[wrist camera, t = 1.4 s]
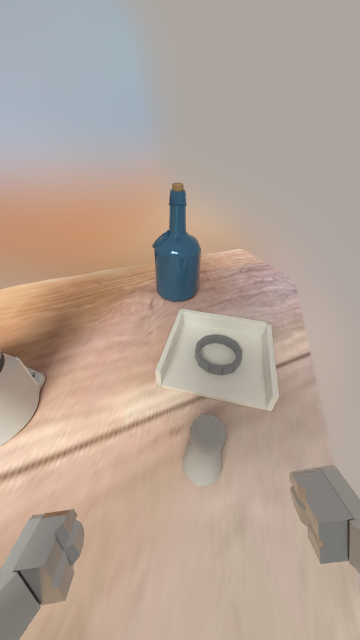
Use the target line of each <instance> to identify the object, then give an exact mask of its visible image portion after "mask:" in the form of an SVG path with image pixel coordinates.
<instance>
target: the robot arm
mask: <svg viewBox="0 0 360 640" xmlns="http://www.w3.org/2000/svg"><path fill="white" fill-rule="evenodd" d="M33 377H34V378H33ZM44 381H45V376H44V375H43V374H42V373H40V372H37V371H35V370H33V369H30V368H28V367H26V366H24V364H23V363H22V362H21V360H20V359H19V358H18V357H13V356H10V355H7V354H4V353H2V352H1V351H0V445H2V444H4V443H5V442H7V441H8V440H10V439H11V438H12V437H14V436H15V435H16V434H17V433H18V432H19V431H20V430H21V429H22V428H23V427H24V426H25V425H26V424H27V423H28V422H29V420H30V419H31V417H32V416H33V414H34V412H35V410H36V408H37V405H38V402H39V392H40V389H41V387H42V385H43V383H44ZM289 476H290V481H291V483H292V485H293V486H292V488H291V495H292V499H293V503H294V506H295V508H296V511H297V513H298V516H299V518H300V520H301V522H302V523H304V524H305V525H306V526H307V528H308V538H309V540H310V542H311V544H312V546H313V549H314V551H315V553H316V555H317V557H318V559H319V561H320V564H323V563H332V562H341V561H349V563H350V564H351V565H352V566H353V567H354V568H355V569H356V570H357V571H358V572H359V573H360V499H359V498H358V496H357V495H356V494H355V492H354V491H353V490H352V489H351V487H350V486H349V484H348V483H347V482H346V480H345V479H344V477H343V476H342V475H341V473H340V472H339V471H338V469H337V468H336V467H335V466H333V465H329V466H324V467H319V468H317V467H316V468H310V469H305V470H300V471H294V472H290V474H289ZM76 517H77V514H76V512H75V510H74V509H71V510H64V511H57V512H51V513H43V514H37V515H33V516H32V517H31V518H30V519H29V520H28V522H27V523H26V525H25V527H24V529H23V530H22V532H21V534H20V536H19V538H18V539H17V541H16V543H15V545H14V546H13V548H12V550H11V552H10V554H9V555H8V557H7V559H6V561H5V562H4V564H3V566H2V568H1V570H0V640H19V639H20V637H21V636H22V634H23V633H24V631H25V630H26V628H27V627H28V625H29V624H30V622H31V621H32V619H33V618H34V616H35V615H36V613H37V612H38V610H39V609H40V607H41V606H40V605H44V604H50V603H55V602H61V601H65V600H66V597H67V594H68V591H69V588H70V585H71V581H72V578H73V575H74V568H73V564H74V563H75V561H76V560H77V559H78V558H79V556H80V554H81V550H82V547H83V542H84V529H83V526H82V524H81V523H80V522H79V521H77V520H75V519H76Z"/></svg>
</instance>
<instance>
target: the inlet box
mask: <svg viewBox="0 0 360 640" xmlns="http://www.w3.org/2000/svg"><path fill="white" fill-rule="evenodd" d="M155 373H156V384H157V387H162V388H166V389H171V390H175V391H180V392H184V393H189V394H193V395H198V396H202V397H207V398H212V399H216V400H221V401H225V402H230V403H234V404H239V405H243V406H248V407H252V408H257V409H262V410H266V411H272V409H273V407H274V405H275V403H276V401H277V400H278V398H279V391H278V382H277V373H276V364H275V355H274V346H273V338H272V329H271V323H270V322H264V321H257V320H251V319H245V318H238V317H232V316H225V315H219V314H212V313H206V312H199V311H193V310H187V309H180V310H179V313H178V315H177V318H176V320H175V323H174V325H173V328H172V330H171V333H170V335H169V338H168V340H167V343H166V345H165V348H164V350H163V353H162V355H161V358H160V360H159V363H158V365H157V368H156V370H155Z"/></svg>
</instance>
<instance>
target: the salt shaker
mask: <svg viewBox="0 0 360 640" xmlns="http://www.w3.org/2000/svg"><path fill="white" fill-rule="evenodd" d="M226 439H227V437H226V429H225V426H224V425H223V423H222V421H221V420H220V419H218V418H217V417H216V416H213V415H210V414H205V415H200V416H199V417H197V418H196V419H195V420H194V421H193V424H192V426H191V428H190V440H191V441H190V443H189V445H188V446H187V448H186V450H185V453H184V455H183V469H184V472H185V474H186V477H187V478H188V479H189V480H190V481H191V482H192V483H193V484H195V485H198V486H201V487H205V486H210V485H213V484H214V483H215V482H216V481H217V480H218V478H219V477H220V475H221V472H222V469H223V466H222V457H221V449H222V448H223V447H224V444H225V441H226Z"/></svg>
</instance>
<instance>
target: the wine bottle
mask: <svg viewBox="0 0 360 640" xmlns="http://www.w3.org/2000/svg"><path fill="white" fill-rule="evenodd" d="M169 205H170V225H169V227H170V229H169V230H168V231H167V232H165V233H164V234H162V235H161V236H160V237H159V238H158V239H157V240H156V241H155V243H154V244H153V248H154V249H155V267H156V284H157V293H158V294H159V295H160V296H161V297H162V298H164V299H166V300H170V301H185V300H188V299H190V298H193V296H194V295H195V294H196V292H197V291H198V281H199V268H200V255H201V248H200V246H199V243H198V241H197V240H196V238H195V237H193V236H191V235H189V234H188V233H187V232H186V222H185V221H186V208H185V207H186V193H185V190H184V189H183V184H182V183H173V184H172V190H170V199H169Z"/></svg>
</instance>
